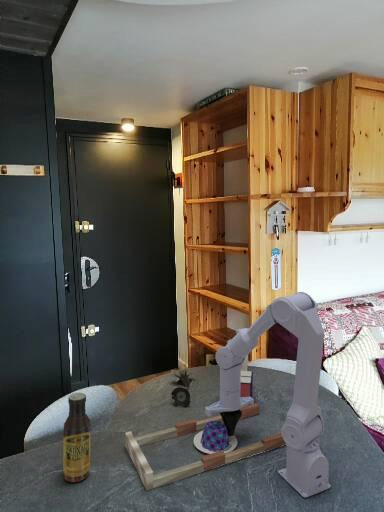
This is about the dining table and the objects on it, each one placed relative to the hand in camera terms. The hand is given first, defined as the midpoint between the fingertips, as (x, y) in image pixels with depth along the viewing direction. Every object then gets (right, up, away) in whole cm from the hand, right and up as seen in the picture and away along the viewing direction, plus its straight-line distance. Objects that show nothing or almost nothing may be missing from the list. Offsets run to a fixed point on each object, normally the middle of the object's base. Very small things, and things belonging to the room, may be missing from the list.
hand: (229, 434), depth 105 cm
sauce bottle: (-38, -3, -14) cm, 41 cm away
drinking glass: (+6, +2, +32) cm, 32 cm away
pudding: (-4, -2, -2) cm, 5 cm away
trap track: (-5, -2, -2) cm, 6 cm away
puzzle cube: (+4, 0, +20) cm, 20 cm away
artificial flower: (-14, +1, +29) cm, 33 cm away
